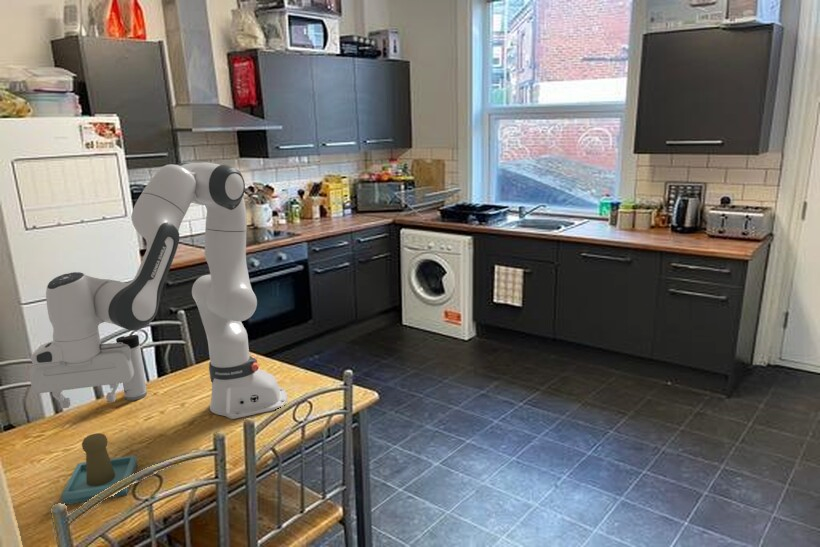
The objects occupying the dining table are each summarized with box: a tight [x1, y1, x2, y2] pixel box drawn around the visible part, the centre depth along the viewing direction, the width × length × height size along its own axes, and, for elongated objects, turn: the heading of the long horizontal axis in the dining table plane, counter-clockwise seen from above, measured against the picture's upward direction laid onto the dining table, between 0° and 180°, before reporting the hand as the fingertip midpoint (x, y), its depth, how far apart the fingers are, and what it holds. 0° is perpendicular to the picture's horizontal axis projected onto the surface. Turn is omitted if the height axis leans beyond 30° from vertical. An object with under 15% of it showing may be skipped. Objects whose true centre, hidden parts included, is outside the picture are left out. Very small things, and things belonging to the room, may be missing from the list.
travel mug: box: [115, 334, 148, 401], centre depth 181 cm, size 6×7×20 cm
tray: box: [61, 454, 138, 505], centre depth 139 cm, size 13×13×3 cm
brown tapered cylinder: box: [81, 433, 115, 486], centre depth 137 cm, size 6×6×11 cm
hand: (89, 404), depth 134 cm, fingers open, 8 cm apart
